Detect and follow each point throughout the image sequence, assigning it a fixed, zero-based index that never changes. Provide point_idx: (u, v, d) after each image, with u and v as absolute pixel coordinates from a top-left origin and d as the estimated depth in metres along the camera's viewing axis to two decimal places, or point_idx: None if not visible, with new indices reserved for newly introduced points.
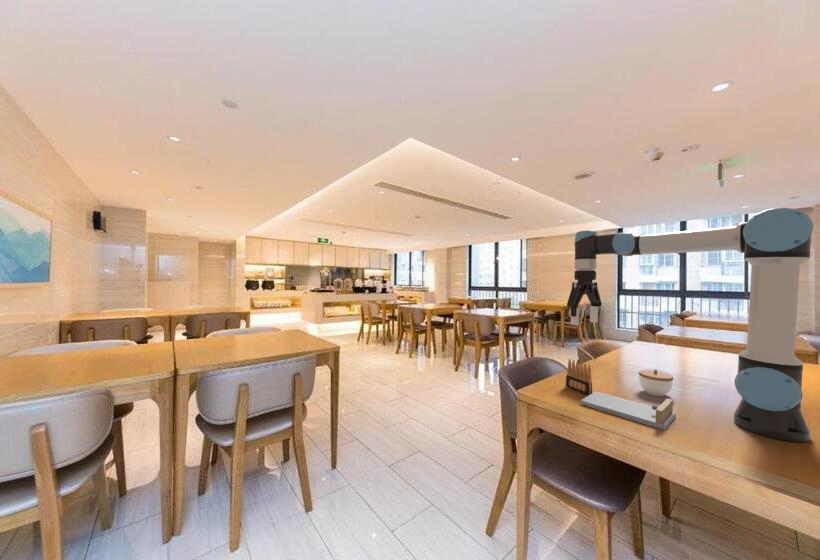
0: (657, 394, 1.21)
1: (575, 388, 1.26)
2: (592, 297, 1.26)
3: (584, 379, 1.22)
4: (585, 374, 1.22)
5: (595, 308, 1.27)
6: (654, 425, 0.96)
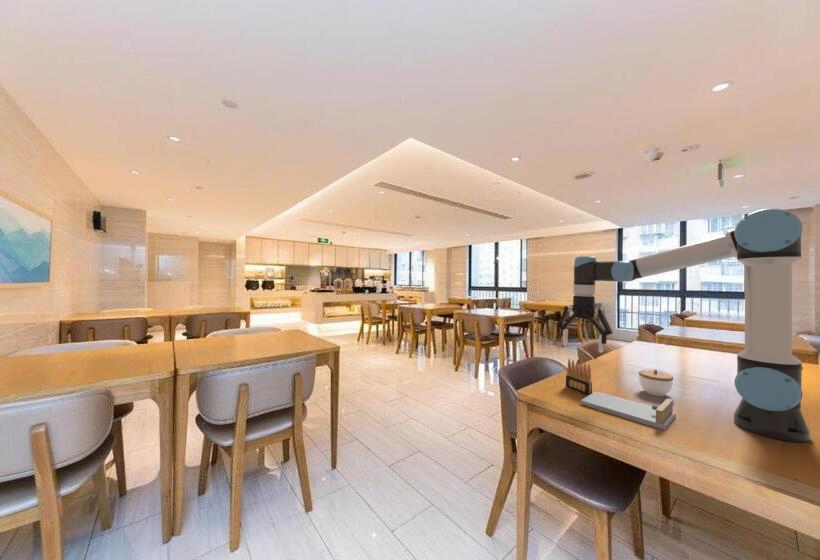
0: (657, 394, 1.21)
1: (575, 388, 1.26)
2: None
3: (584, 379, 1.22)
4: (585, 374, 1.22)
5: None
6: (654, 425, 0.96)
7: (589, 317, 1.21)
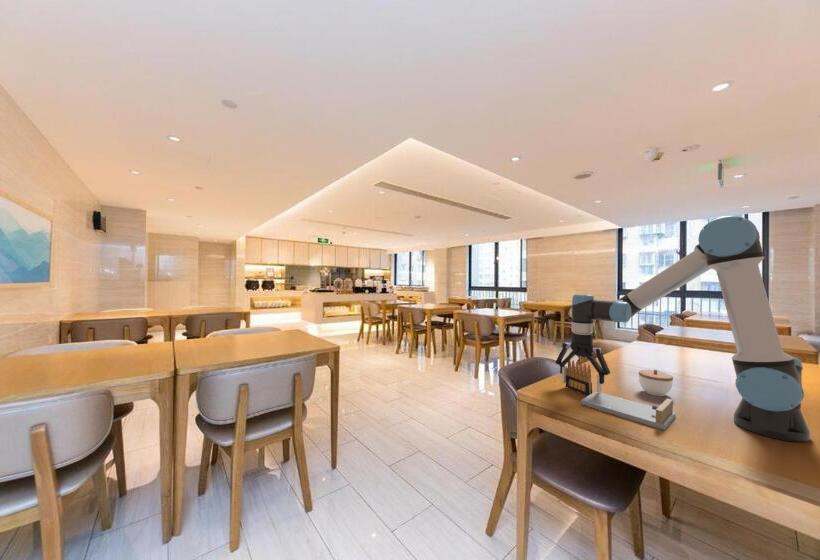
0: (657, 394, 1.21)
1: (575, 388, 1.26)
2: None
3: (584, 379, 1.22)
4: (585, 374, 1.22)
5: None
6: (654, 425, 0.96)
7: (587, 356, 1.21)
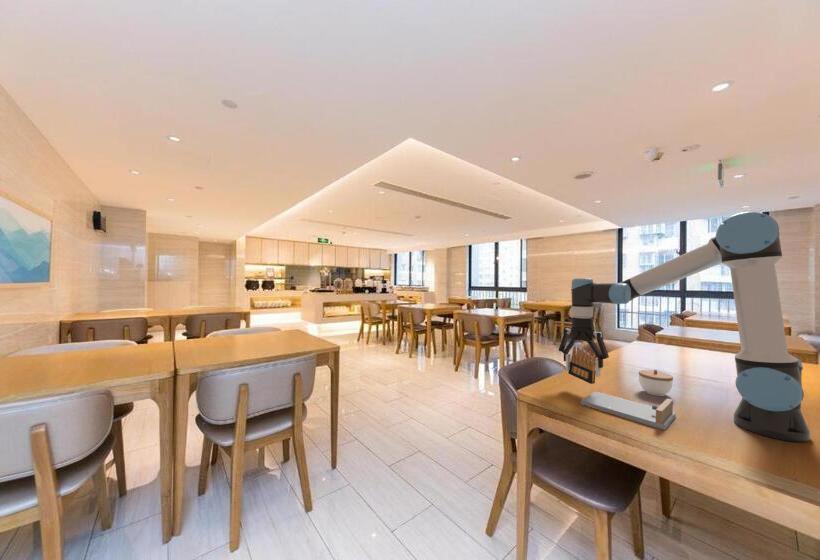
0: (657, 394, 1.21)
1: (578, 375, 1.25)
2: None
3: (588, 367, 1.21)
4: (589, 362, 1.21)
5: None
6: (654, 425, 0.96)
7: (587, 340, 1.21)
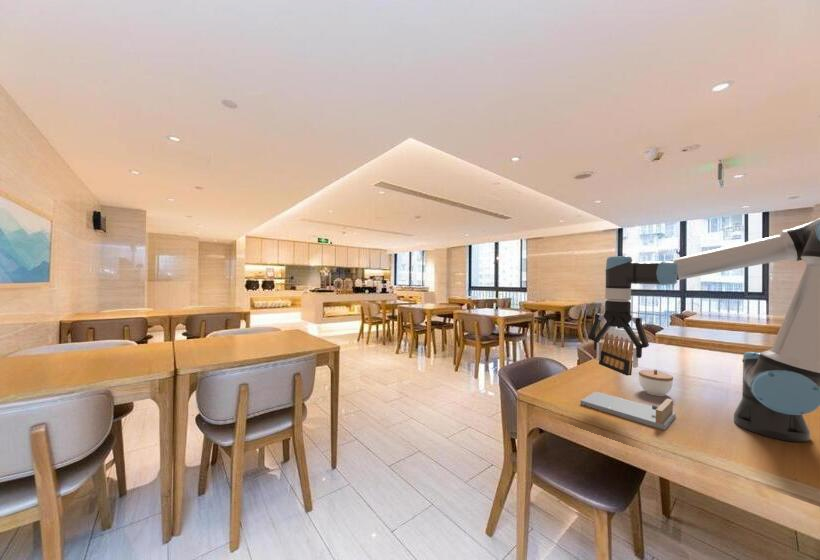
0: (657, 394, 1.21)
1: (611, 366, 1.10)
2: None
3: (624, 356, 1.06)
4: (625, 351, 1.06)
5: None
6: (654, 425, 0.96)
7: (624, 326, 1.06)
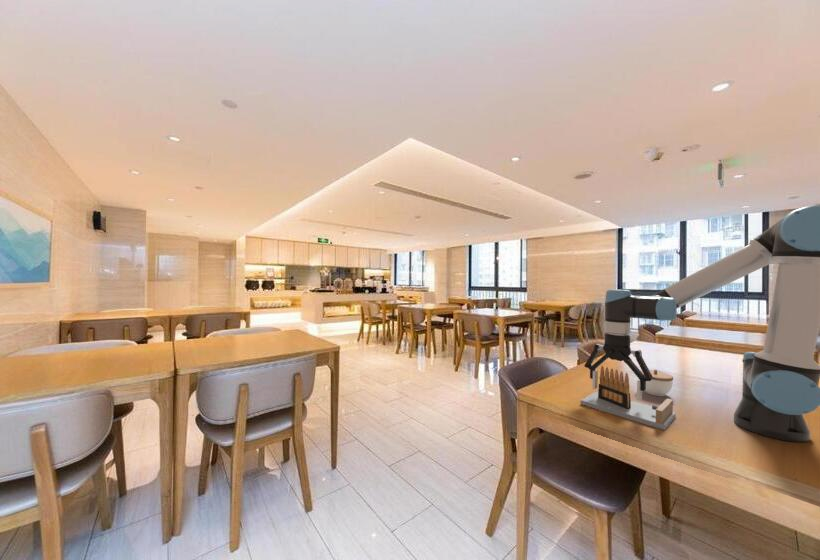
0: (657, 394, 1.21)
1: (610, 399, 1.11)
2: None
3: (621, 389, 1.07)
4: (622, 384, 1.07)
5: None
6: (654, 425, 0.96)
7: (625, 359, 1.06)
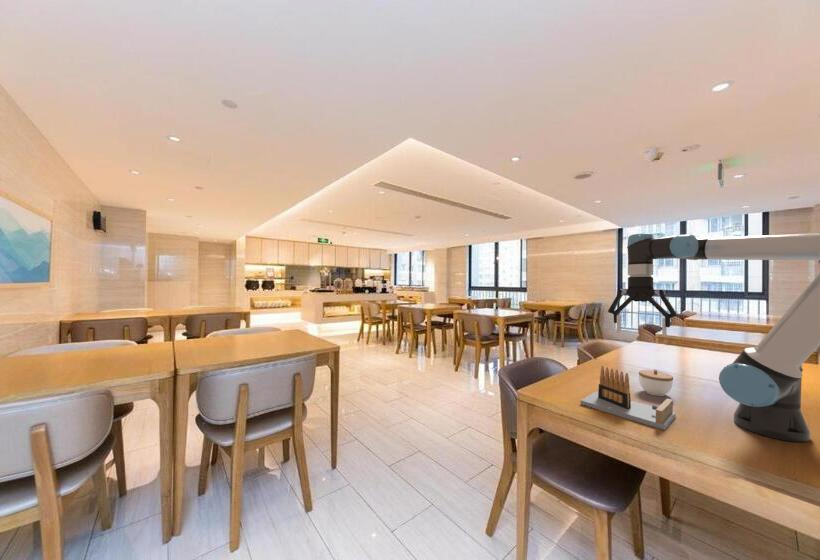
0: (657, 394, 1.21)
1: (610, 399, 1.11)
2: (655, 306, 1.11)
3: (621, 389, 1.07)
4: (622, 384, 1.07)
5: None
6: (654, 425, 0.96)
7: (649, 299, 1.11)
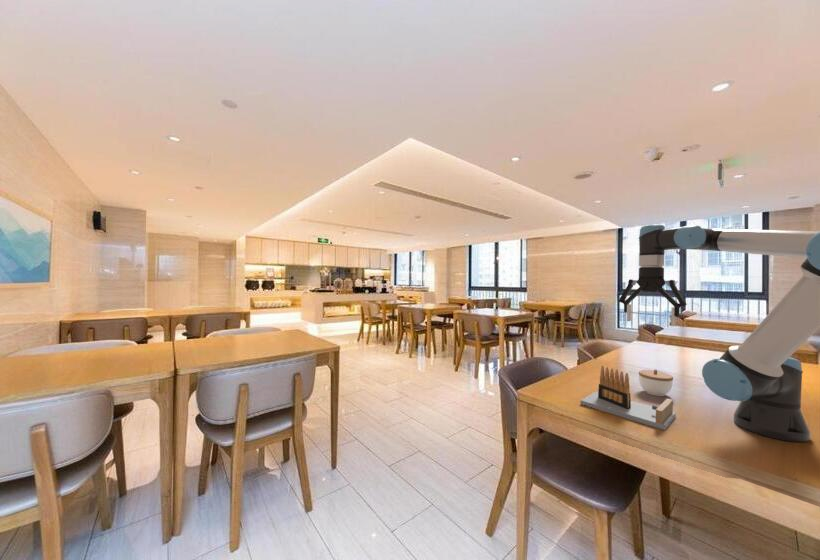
0: (657, 394, 1.21)
1: (610, 399, 1.11)
2: (664, 296, 1.14)
3: (621, 389, 1.07)
4: (622, 384, 1.07)
5: None
6: (654, 425, 0.96)
7: (659, 289, 1.14)
